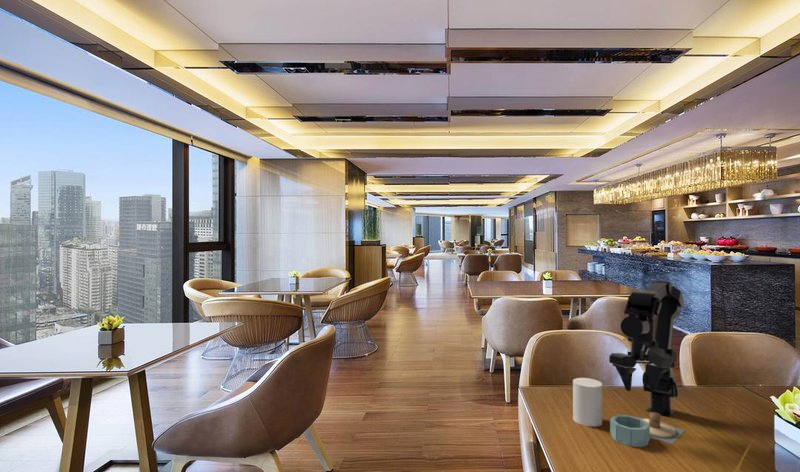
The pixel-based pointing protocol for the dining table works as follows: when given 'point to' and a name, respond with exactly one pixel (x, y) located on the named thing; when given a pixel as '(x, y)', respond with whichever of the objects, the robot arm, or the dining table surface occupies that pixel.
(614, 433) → the grooved blue cylinder
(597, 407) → the white cylinder
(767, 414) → the dining table surface
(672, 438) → the mat
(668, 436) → the lid
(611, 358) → the robot arm
